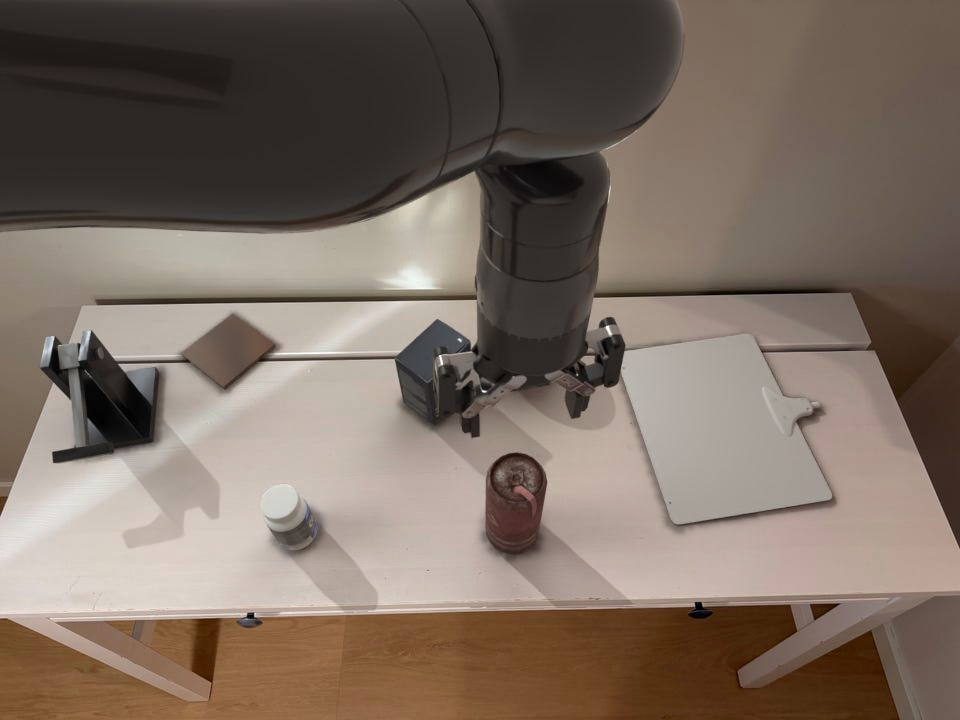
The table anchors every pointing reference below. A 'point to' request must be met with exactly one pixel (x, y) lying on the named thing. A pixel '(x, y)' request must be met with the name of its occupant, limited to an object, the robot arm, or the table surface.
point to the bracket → (108, 393)
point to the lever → (78, 410)
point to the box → (426, 367)
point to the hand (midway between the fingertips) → (523, 418)
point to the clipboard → (720, 429)
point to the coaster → (228, 350)
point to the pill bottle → (288, 517)
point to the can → (514, 502)
